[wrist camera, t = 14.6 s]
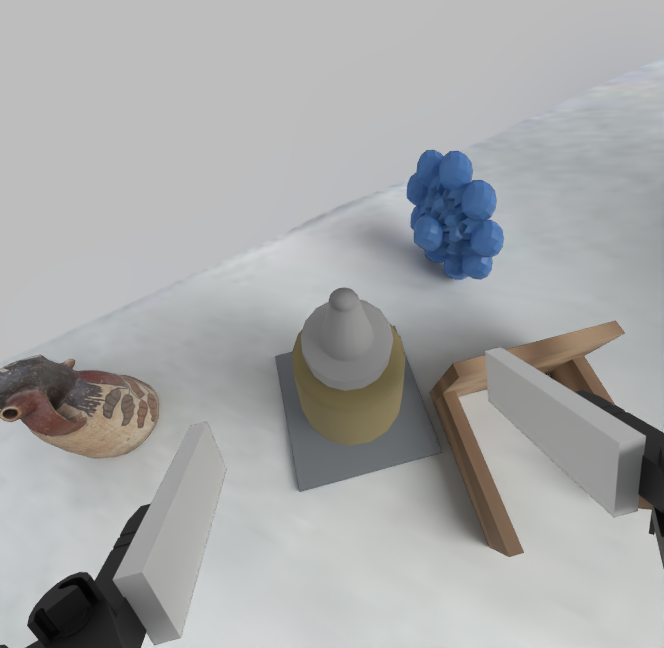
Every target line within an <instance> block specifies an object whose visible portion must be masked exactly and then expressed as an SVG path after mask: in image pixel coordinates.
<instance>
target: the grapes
mask: <svg viewBox="0 0 664 648" xmlns="http://www.w3.org/2000/svg"><path fill="white" fill-rule="evenodd" d="M472 173H473V169H472V164H471V161H470V160H469V159H468V157H467V156H466V155H465V154H463V153H461V152H459V151H450V152H449V153H447V154H446V155H445V156H444V157H443V155H442V154H441V153H439V152H437V151H435V150H427V151H425V152H424V153H423V154H422V155H421V156H420V159H419V161H418V164H417V173H415V174H414V175H412V176H411V177H410V180H409V182H408V185H407V198H408V200H409V201H410V202H412V203H413V204H414V205H416V207H415V208H414V209H413V212H412V214H411V228H412V229H413V230H414V242H415V243H416V244H417V245H418V246H420V247H421V248H423V249H425V256H426V257H427V258H429V259H430V260H432V261H434V262H436V263H443V262H444V272H445V273H446V274H447V275H448V276H449V277H451V278H453V279H457V280H462V279H464V278H466V277H468V276H469V277H471V278H473V279H483V278H485V277H487V276H488V275H489V273H490V271H491V269H492V257H493V256H495V255H497V254H498V253H499V252H500V250H501V248H502V247H503V241H504V236H503V231H502V229H501V227H500V226H499V225H498V224H497V223H495V222H493V221H492V220H487V219H488V218H490V217H491V216H492V214H493V212H494V210H495V207H496V195H495V190H494V189H493V188H492V187H491V185H490V184H488V183H486V182H485V181H483V180H473V181H472V182H471V180H472Z"/></svg>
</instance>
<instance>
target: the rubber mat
mask: <svg viewBox="0 0 664 648" xmlns="http://www.w3.org/2000/svg"><path fill="white" fill-rule="evenodd" d="M392 327H393V328H394V329H395V326H392ZM395 331H396V329H395ZM396 332H397V331H396ZM405 357H406V355H405ZM275 358H276V363H277V369H278V374H279V380H280V385H281V391H282V397H283V402H284V408H285V413H286V419H287V424H288V430H289V435H290V441H291V446H292V452H293V458H294V463H295V469H296V474H297V480H298V485H299V491H300V492H301V491H305V490H308V489H312V488H315V487H319V486H323V485H326V484H330V483H334V482H337V481H341V480H344V479H348V478H352V477H355V476H359V475H363V474H366V473H370V472H373V471H377V470H381V469H384V468H388V467H391V466H395V465H399V464H402V463H406V462H410V461H413V460H417V459H420V458H424V457H428V456H431V455H435V454H438V453H442V452H441V449H440V446H439V444H438V441H437V438H436V436H435V433H434V430H433V428H432V425H431V422H430V420H429V417H428V414H427V412H426V409H425V406H424V403H423V401H422V398H421V395H420V393H419V390H418V387H417V385H416V382H415V379H414V377H413V374H412V371H411V369H410V366H409V363H408V361H407V358H405V369H404V380H403V391H402V398H401V404H400V410H399V414H398V416H397V417H396V419H395V420H394V422H393V423H392V425H391V426H390V428H389V429H388V431H387V432H385V433H384V434H382V435H380V436H379V437H377V438H376V439H374V440H373V441H371V442H369V443H363V444H356V445H350V446H348V445H344V444H341V443H337V442H333V441H329V440H327V439H326V438H325V437H323V436H322V435H321V434H320V433H318V432H317V431H316V430H315V429H313V428H312V427H311V425H310V423H309V421H308V419H307V418H306V416H305V414H304V412H303V410H302V407H301V403H300V399H299V395H298V391H297V387H296V383H295V378H294V373H293V362H292V352H290V353H286V354H282V355H278V356H275Z"/></svg>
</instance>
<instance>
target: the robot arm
mask: <svg viewBox="0 0 664 648" xmlns="http://www.w3.org/2000/svg"><path fill="white" fill-rule="evenodd" d="M485 359H486V373H487V386H488V400H489V402H490V403H491V404H492V405H493V406H494V407H495V408H497V409H498V410H499V411H500V412H501V413H502V414H503V415H504V416H505V417H506V418H507V419H508V420H509V421H510V422H512V423H513V424H514V425H515V426H516V427H517V428H518V429H519V430H520V431H521V432H522V433H523V434H524V435H526V436H527V437H528V438H529V439H530V440H531V441H532V442H533V443H534V444H535V445H536V446H537V447H538V448H539V449H541V450H542V451H543V452H544V453H545V454H546V455H547V456H548V457H549V458H550V459H551V460H552V461H553V462H555V463H556V464H557V465H558V466H559V467H560V468H561V469H562V470H563V471H564V472H565V473H566V474H567V475H568V476H570V477H571V478H572V479H573V480H574V481H575V482H576V483H577V484H578V485H579V486H580V487H581V488H582V489H584V490H585V491H586V492H587V493H588V494H589V495H590V496H591V497H592V498H593V499H594V500H595V501H596V502H597V503H599V504H600V505H601V506H602V507H603V508H604V509H605V510H606V511H607V512H608V513H609V514H610V515H611V516H613V517H618V516H621V515H625V514H629V513H632V512H636V511H638V504H639V495H640V496H641V497H642V498H644V499H645V500H646V501H648V502H649V503H650V504H651V505H653V506H652V513H651V521H650V529H649V534H653V535H654V533H655V532H656V537H657V541H658V546H659V550H660V554H661V559H662V563H663V567H664V433H663V432H661V431H659V430H658V429H656V428H654V427H652V426H651V425H649V424H647V423H645V422H644V421H642V420H640V419H638V418H637V417H635V416H633V415H632V414H630V413H628V412H625V410H623V409H621V408H619V407H618V406H616V405H615V406H614V405H613V404H612V403H611V402H609V401H607V400H606V399H604V398H602V397H600V396H598V395H595V394H592V393H589V392H586V391H583V390H580V391H576V392H573V391H572V390H570V389H568V388H567V387H565V386H563V385H562V384H560V383H559V382H557V381H555V380H554V379H552V378H550V377H549V376H547V375H545V374H544V373H542V372H541V371H539V370H537V369H536V368H534V367H532V366H531V365H529V364H528V363H526V362H524V361H523V360H521V359H519V358H518V357H516V356H515V355H513V354H511V353H510V352H508V351H506V350H505V349H503V348H502V347H498V348H494V349H490V350H486V351H485ZM226 470H227V469H226V467H225V464H224V462H223V459H222V457H221V454H220V452H219V449H218V447H217V445H216V442H215V440H214V437H213V435H212V432H211V430H210V427H209V425H208V423H207V422H203V423H199V424H195V425H191V426H190V427H189V429H188V431H187V433H186V435H185V437H184V439H183V441H182V443H181V445H180V447H179V449H178V451H177V453H176V455H175V457H174V459H173V461H172V463H171V465H170V467H169V469H168V471H167V473H166V475H165V477H164V479H163V481H162V483H161V485H160V487H159V489H158V491H157V493H156V495H155V497H154V499H153V501H152V503H151V504H148V505H144V506H141V507H140V508H139V509H138V510H137V511H136V512H135V513H134V514H133V516H132V517H131V518H130V519H129V520H128V522H127V523H126V525H125V527H124V529H123V531H122V532H121V534H120V538H118V540H117V541H116V543H115V545H114V547H113V548H114V549H113V550H112V551H111V552H110V554H109V556H108V558H107V560H106V561H105V563H104V565H103V567H102V569H101V570H100V572H99V574H98V576H97V578H96V579H95V581H94V580H93V579H92V577H91V576H90V575H89V574H88V573H87V572H79V573H76V574H73V575H70V576H68V577H67V578H65V579H64V580H62V581H60V582H59V583H57V584H56V585H55V586H54V587H53V588H51V589H50V590H49V591H48V592H47V593H46V594H45V595H44V596H43V597H42V598H41V599H40V601H39V602H38V603H37V604H36V605H35V607H34V609H33V611H32V612H31V614H30V616H29V620H28V624H27V626H28V627H29V628H30V630H31V631H32V632H33V633H34V635H35V636H36V637H37V638H38V641H36V642H34V643H33V644H31V645H29V646H27V647H26V648H141V646H142V643H143V640H144V637H145V634H146V633H147V635H148V636H149V638H150V639H151V641H152V642H153V644H154V645H157V644H161V643H164V642H168V641H171V640H175V639H179V638H181V636H182V632H183V628H184V625H185V621H186V617H187V614H188V610H189V606H190V602H191V599H192V595H193V591H194V588H195V584H196V580H197V577H198V573H199V569H200V566H201V562H202V558H203V554H204V551H205V547H206V543H207V540H208V536H209V532H210V529H211V525H212V521H213V518H214V514H215V510H216V506H217V503H218V499H219V495H220V492H221V488H222V484H223V481H224V477H225V473H226ZM0 648H8V647H7V646H6V645H0Z"/></svg>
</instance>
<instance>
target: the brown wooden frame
mask: <svg viewBox="0 0 664 648" xmlns="http://www.w3.org/2000/svg"><path fill="white" fill-rule="evenodd" d="M622 334H624V331H623V330H622V328H621V327H620V326H619V324H618V323H617V322H616V321H613V322H609V323H605V324H601V325H597V326H594V327H590V328H586V329H582V330H578V331H575V332H571V333H567V334H563V335H559V336H556V337H552V338H548V339H544V340H540V341H537V342H533V343H529V344H525V345H521V346H518V347H514V348H510V349H506V351H508V352H510V353H511V354H513V355H515V356H516V357H518V358H519V359H521V360H523V361H524V362H526V363H528V364H529V365H531V366H532V367H534V368H536V369H537V370H539V371H541V372H542V373H544V374H545V373H548V372H550V374H551V376H552V377H553V379H554V380H555V381H557V382H559V383H560V384H562V385H563V386H565V387H567V388H568V389H570V390H572V391H573V392H576V391H580V390H583V391H586V392H589V393H592V394H595V395H598V396H600V397H602V398H604V399H606V400H607V401H609V402H611V403H612V404H613V405H614V406H615V404H614V402H613V401H612V399H611V398H610V396H609V394H608V393H607V391H606V390H605V388H604V387H603V385H602V383H601V382H600V380H599V379H598V377H597V376H596V374H595V372H594V371H593V369H592V368H591V366H590V365H589V363H588V361H587V360H586V358H585V357H584V356H585V355H587V354H588V353H590V352H592V351H594V350H596V349H597V348H599V347H601V346H603V345H605V344H606V343H608V342H610V341H612V340H614V339H615V338H617V337H619V336H621V335H622ZM485 389H488V386H487V373H486V359H485V355H484V356H480V357H476V358H472V359H468V360H465V361H461V362H457V363H453V364H452V365H451V367H450V368H449V369H448V370H447V372H446V373H445V374H444V375H443V377H442V378H441V379H440V380H439V382H438V383H437V384H436V385H435V386H434V388H433V389H432V390H431V391H430V395H431V397H432V400H433V403H434V405H435V408H436V410H437V413H438V416H439V418H440V421H441V423H442V426H443V428H444V431H445V434H446V436H447V439H448V441H449V444H450V446H451V449H452V452H453V454H454V457H455V459H456V462H457V465H458V467H459V470H460V472H461V475H462V477H463V480H464V483H465V485H466V488H467V490H468V493H469V495H470V498H471V501H472V503H473V506H474V508H475V511H476V514H477V516H478V519H479V521H480V524H481V526H482V529H483V532H484V534H485V537H486V539H487V542H488V544H489V547H490V548H492V549H494V550H496V551H498V552H500V553H502V554H504V555H506V556H508V557H511V556H515V555H518V554H521V553H524V552H523V549H522V547H521V544H520V542H519V540H518V537H517V535H516V533H515V530H514V528H513V526H512V523H511V521H510V519H509V516H508V514H507V512H506V509H505V507H504V504H503V502H502V500H501V497H500V495H499V493H498V490H497V488H496V486H495V483H494V481H493V479H492V476H491V474H490V471H489V469H488V467H487V464H486V462H485V460H484V457H483V455H482V453H481V450H480V448H479V446H478V443H477V441H476V439H475V436H474V434H473V431H472V429H471V427H470V424H469V422H468V420H467V417H466V415H465V413H464V410H463V408H462V406H461V403H460V401H459V399H458V397H459V396H463V395H467V394H470V393H474V392H478V391H481V390H485ZM652 506H653V505H651V504H650V503H649V502H648V501H646V500H645V499H644V498H642V497H641V496H640V495H639V504H638V508H641V509H652Z"/></svg>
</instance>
